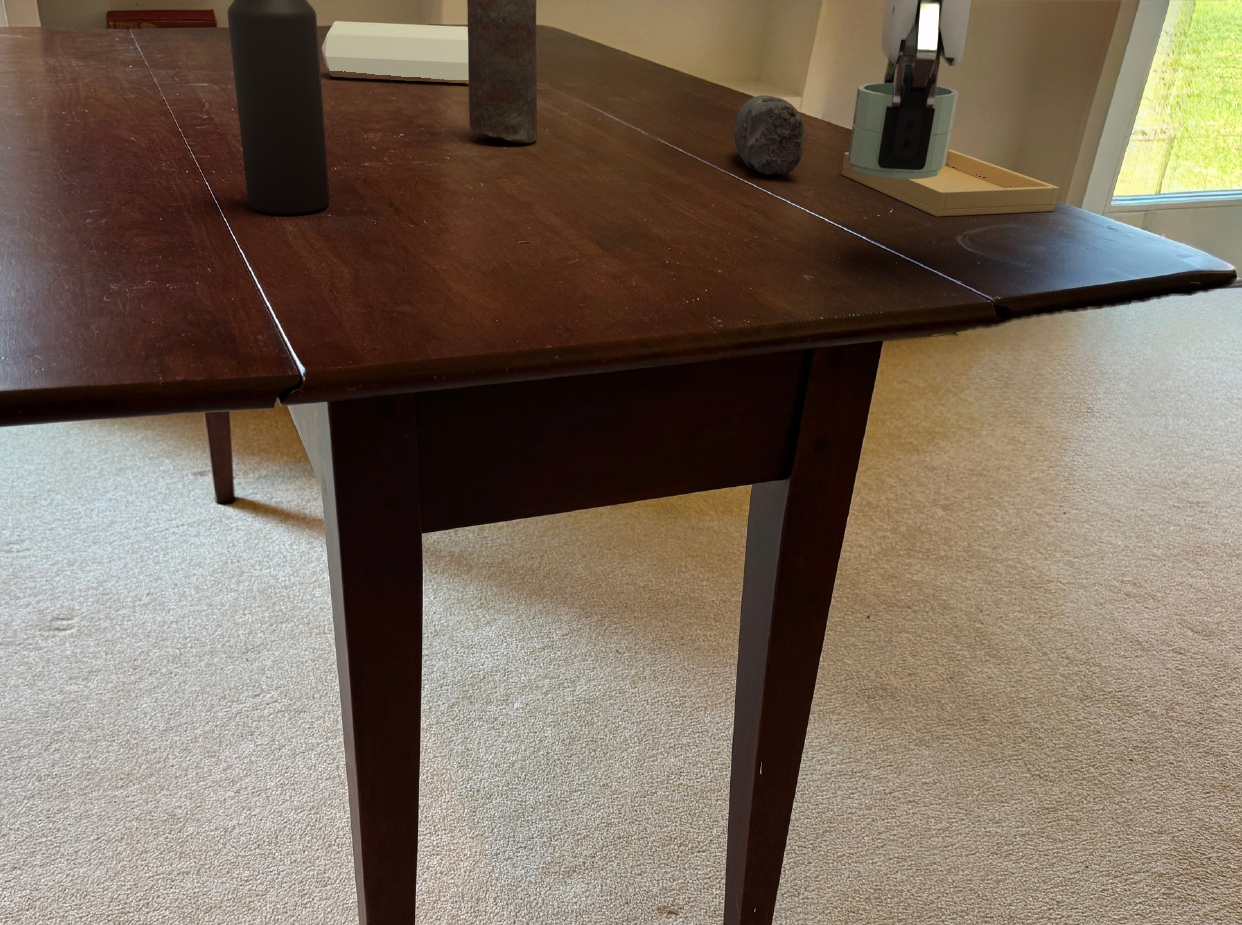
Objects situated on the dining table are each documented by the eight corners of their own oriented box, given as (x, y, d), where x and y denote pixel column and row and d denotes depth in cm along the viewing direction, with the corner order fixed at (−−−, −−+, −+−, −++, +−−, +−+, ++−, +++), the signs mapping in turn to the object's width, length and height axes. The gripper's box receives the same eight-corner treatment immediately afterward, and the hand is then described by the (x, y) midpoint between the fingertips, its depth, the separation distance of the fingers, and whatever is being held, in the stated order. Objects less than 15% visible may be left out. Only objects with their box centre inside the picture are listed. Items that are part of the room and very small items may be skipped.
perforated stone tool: (721, 151, 120) (728, 82, 116) (768, 152, 120) (777, 83, 117) (749, 183, 107) (758, 106, 104) (802, 184, 107) (813, 107, 104)
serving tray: (946, 170, 115) (950, 149, 114) (1053, 211, 101) (1059, 187, 100) (840, 174, 112) (844, 152, 111) (936, 216, 98) (941, 192, 97)
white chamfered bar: (494, 48, 160) (332, 41, 163) (487, 25, 153) (318, 18, 155) (490, 100, 161) (328, 92, 163) (482, 79, 154) (314, 71, 156)
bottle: (231, 209, 93) (199, -65, 83) (280, 193, 98) (255, -66, 88) (299, 220, 91) (275, -60, 80) (345, 203, 96) (328, -62, 86)
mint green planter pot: (910, 158, 85) (923, 81, 82) (961, 177, 80) (977, 95, 77) (830, 162, 84) (841, 84, 81) (877, 182, 78) (890, 98, 75)
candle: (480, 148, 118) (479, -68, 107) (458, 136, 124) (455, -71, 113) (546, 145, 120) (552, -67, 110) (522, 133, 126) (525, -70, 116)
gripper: (1027, -132, 64) (964, 186, 73) (985, -126, 79) (937, 138, 88) (893, -133, 65) (848, 180, 74) (877, -127, 80) (840, 134, 89)
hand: (897, 155), depth 81 cm, fingers closed on mint green planter pot, 7 cm apart
